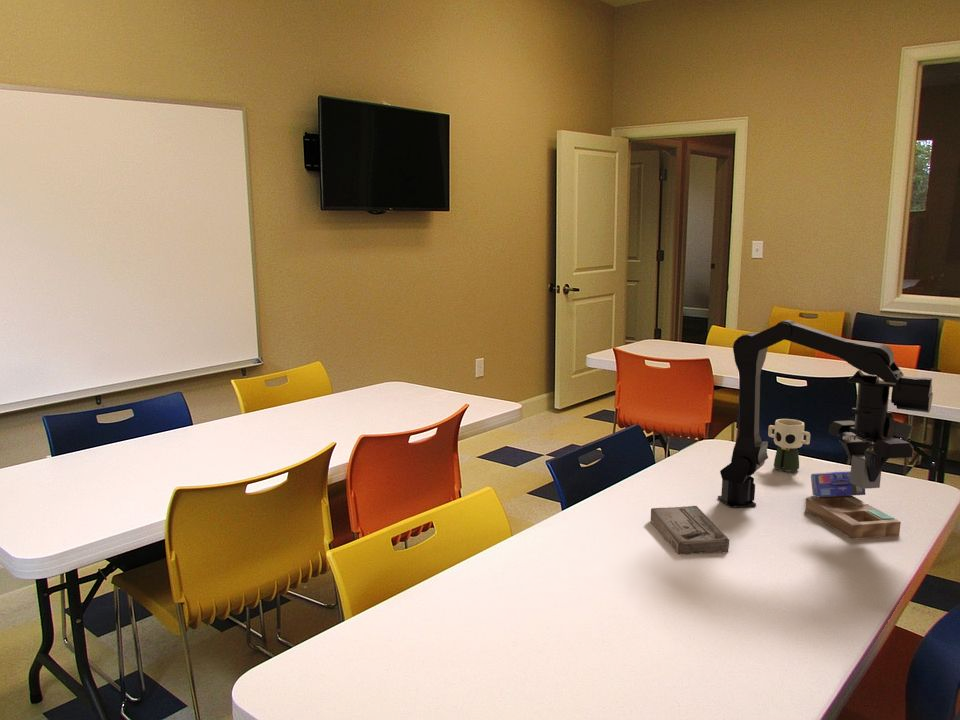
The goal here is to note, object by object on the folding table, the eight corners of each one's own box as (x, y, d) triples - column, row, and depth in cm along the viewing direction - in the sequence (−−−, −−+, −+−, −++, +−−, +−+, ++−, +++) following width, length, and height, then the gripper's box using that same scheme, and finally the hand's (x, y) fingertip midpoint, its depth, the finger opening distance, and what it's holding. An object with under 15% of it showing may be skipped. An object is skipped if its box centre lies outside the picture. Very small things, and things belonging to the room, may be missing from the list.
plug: (862, 488, 153) (864, 460, 152) (849, 482, 157) (852, 455, 155) (879, 487, 153) (882, 459, 152) (866, 481, 157) (869, 454, 156)
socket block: (851, 539, 152) (853, 524, 151) (805, 510, 167) (806, 496, 167) (899, 535, 154) (900, 520, 153) (849, 507, 169) (850, 493, 169)
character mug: (760, 468, 197) (763, 420, 195) (771, 462, 202) (774, 415, 200) (801, 477, 189) (805, 428, 187) (812, 471, 194) (816, 423, 192)
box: (695, 517, 163) (696, 504, 162) (730, 553, 146) (730, 538, 145) (648, 520, 161) (649, 507, 161) (677, 557, 145) (678, 542, 144)
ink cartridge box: (854, 469, 175) (865, 471, 161) (858, 493, 174) (869, 497, 160) (809, 472, 178) (816, 474, 164) (812, 495, 177) (819, 499, 163)
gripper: (941, 415, 144) (933, 491, 147) (876, 394, 162) (869, 462, 165) (890, 417, 142) (882, 494, 145) (830, 396, 160) (824, 465, 163)
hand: (865, 478), depth 155 cm, fingers closed on plug, 4 cm apart
